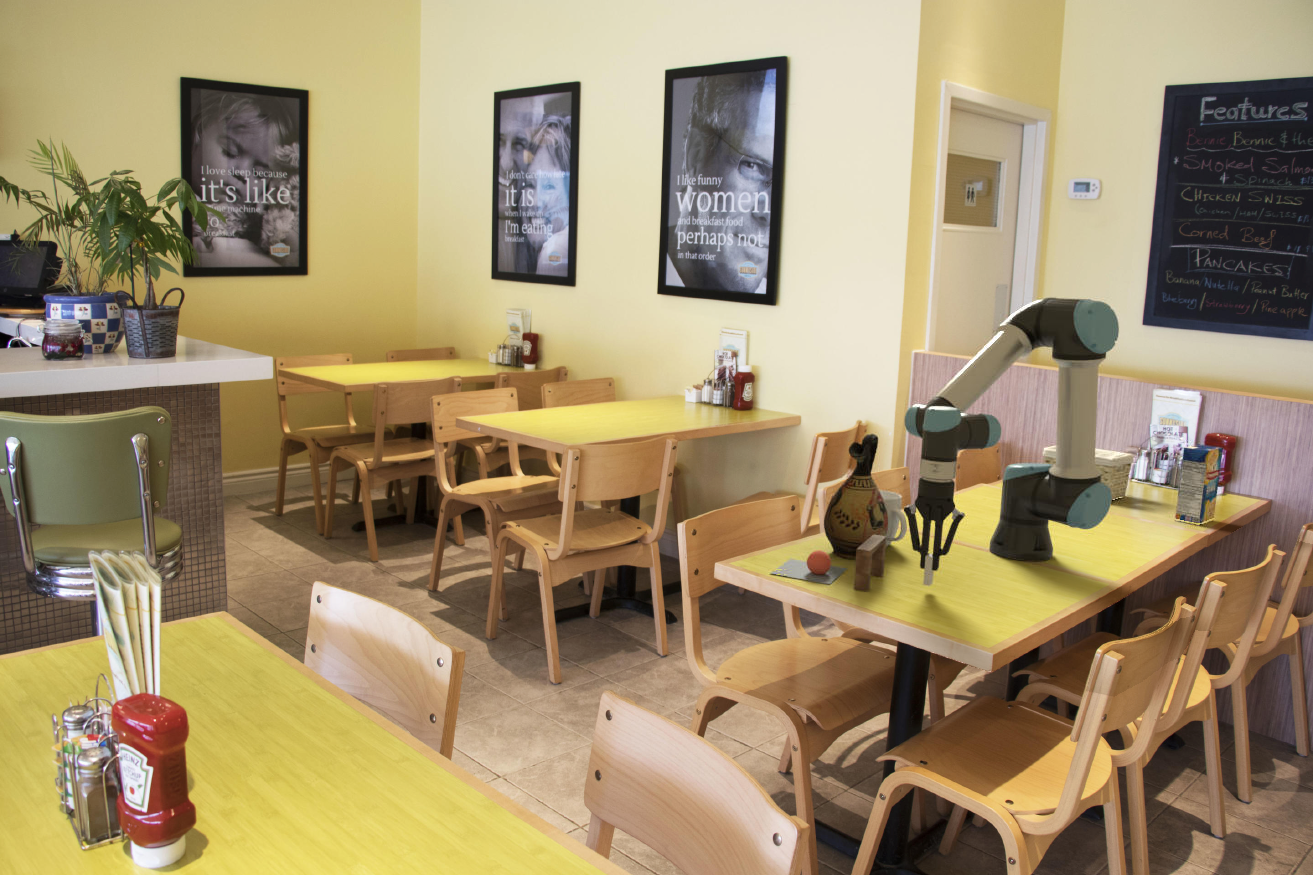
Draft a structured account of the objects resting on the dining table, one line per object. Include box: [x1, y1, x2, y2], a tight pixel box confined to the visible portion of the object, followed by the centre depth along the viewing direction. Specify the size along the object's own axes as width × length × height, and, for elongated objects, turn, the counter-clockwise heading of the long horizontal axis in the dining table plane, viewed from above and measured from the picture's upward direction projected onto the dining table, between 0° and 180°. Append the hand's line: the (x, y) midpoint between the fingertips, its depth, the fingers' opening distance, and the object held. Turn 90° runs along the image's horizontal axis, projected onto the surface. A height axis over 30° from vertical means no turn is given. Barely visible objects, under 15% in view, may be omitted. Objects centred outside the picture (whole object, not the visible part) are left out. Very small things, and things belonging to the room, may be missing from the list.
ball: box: [806, 550, 832, 575], centre depth 235 cm, size 6×6×6 cm
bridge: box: [853, 534, 887, 592], centre depth 231 cm, size 3×14×9 cm, turn 154°
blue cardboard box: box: [1174, 444, 1224, 523], centre depth 302 cm, size 7×11×22 cm, turn 132°
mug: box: [879, 489, 908, 547], centre depth 262 cm, size 15×11×13 cm
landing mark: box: [769, 558, 848, 586], centre depth 237 cm, size 14×14×1 cm
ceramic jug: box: [823, 433, 888, 560], centre depth 251 cm, size 17×15×30 cm
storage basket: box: [1042, 445, 1135, 500], centre depth 334 cm, size 24×16×15 cm
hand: (927, 583), depth 226 cm, fingers closed
